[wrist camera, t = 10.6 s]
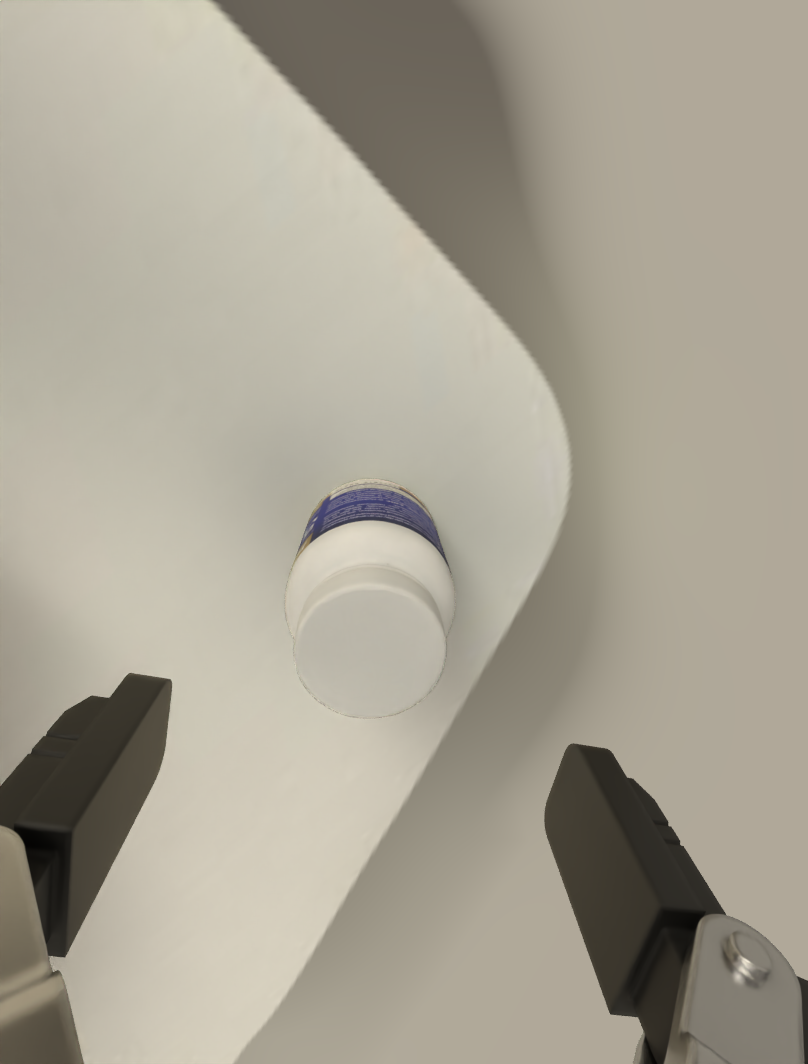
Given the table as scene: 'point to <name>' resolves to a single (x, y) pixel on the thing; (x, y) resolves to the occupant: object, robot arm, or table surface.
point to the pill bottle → (370, 601)
